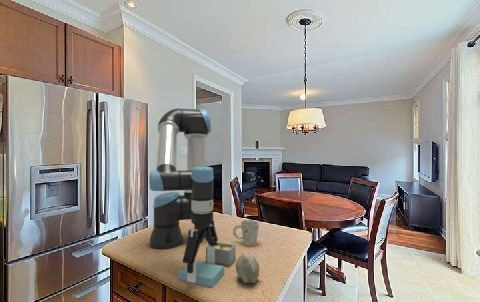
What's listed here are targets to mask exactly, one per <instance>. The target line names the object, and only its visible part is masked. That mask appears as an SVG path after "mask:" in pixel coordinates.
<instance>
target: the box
mask: <svg viewBox="0 0 480 302" xmlns="http://www.w3.org/2000/svg"><path fill="white" fill-rule="evenodd" d="M216 243H218V245H217V246H215V264H214V265H219V266H224V267H228V268H229V267H231V266H232V265H233V264H234V262H235V261H237V260H236V257H237V256H236V255H237V254H236V253H237V251H236V250H237V247H236V245H237V244H232V243H228V242H227V243H226V242H221V241H218V242H216ZM205 263H207V246H206V247H205Z"/></svg>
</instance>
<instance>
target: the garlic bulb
mask: <svg viewBox="0 0 480 302" xmlns="http://www.w3.org/2000/svg"><path fill="white" fill-rule="evenodd" d="M235 261H236V262H235V271H236V274H237V275H238V277H239V278H240V281H242V282H243V283H245V284H255V283H256V282H258V281H259V278H258V277H259V275H260V264H259V262H258V260H257V258H256V257H255V255H253V254H249V253H241V254H240V255H239V256H238V258H237V260H235Z"/></svg>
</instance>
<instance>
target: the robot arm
mask: <svg viewBox="0 0 480 302" xmlns="http://www.w3.org/2000/svg"><path fill="white" fill-rule="evenodd" d="M211 128H212V123H211V117H210V114H209V111H208V110H206V109H200V108H198V109H197V108H195V109H194V108H178V107H177V108H173V109H170V110H169V111H167V112H166V113H164V114H163V115H162V116H161V118H160V119H159V121H158V124H157V132H158V134H159V136H158V149H157V159H156V168H155V169H156V170H151V171H150V173H149V178H148V179H149V183H148V184H149V189H150V190H151V191H153V192H164V193H162V194H159V195H158V194H157V195H156V196H155V197H154V198H153V207H152V208H153V229H152V231H151V233H150V238H149V246H150V248H154V249H159V250H165V249H166V250H167V249H173V248H176V247H179V246H181V244H183V243H184V236H183V233H182V230H181V227H180V221H189V220H190V221H191V222H190V223H192V224H193V225H194V226H193V227H194V228H193V229H192V230H191V229H190V230H188V233H187V234H188V237H187V241H186V246H185V250H184V254H183V258H182V263H183V264H186V266H187V281H186V282H188V283H191V282H192V284H195V282H196V262H194V261H196V258H197V255H198V251H199V248H200V246H201V243H202V242H203V240H204V239H205V240H206V242H207V243H208V245H207V246H206V247H207V262H206V263H208V264H214V265H216V264H215V246H217V245H218V243H216V242H219V238H218V234H217V232H216V227H215V220H214V211H213V210H214V203H215V202H214V179H215V176H214V168H213V167H211V166H206V157H205V156H206V154H205V153H206V150H205V149H206V148H205V147H206V146H205V141H206V138H208V137H209V136H208V134H210V133H211V130H212V129H211ZM179 133H183V136H184V138H185V139H186V140H187V143H186V144H187V147H186V148H187V149H186V150H187V153H186V154H187V158H186V159H187V160H186V163H187V164H186V166H187V167H186V169H185V170H177V153H178V152H177V151H178V148H177V143H178V142H177V141H178V140H177V139H178V138H177V137H178V134H179ZM171 191H172V192H171ZM178 191H183V194H181V193H180V192H178ZM180 194H181V195H180Z"/></svg>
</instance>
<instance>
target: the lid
mask: <svg viewBox="0 0 480 302" xmlns="http://www.w3.org/2000/svg"><path fill="white" fill-rule="evenodd" d="M194 262H196V282H195V283H194V284H195V285H196V284H197V285H201V286H205V287H210V288H213V287H214V286H215V285H216V284H217V283H218V281H219V280H221V278H222V277H223V276H224V274H225V266H223V265H218V264H209V263H207V262H203V261H197V260H195V261H194ZM178 273H179V276H178V277H179V278H178V280H179V281H183V282H187V265H186V266H185V267H184V268H182V269H181V270H179V272H178ZM190 283H192V282H190ZM192 284H193V283H192Z"/></svg>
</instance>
